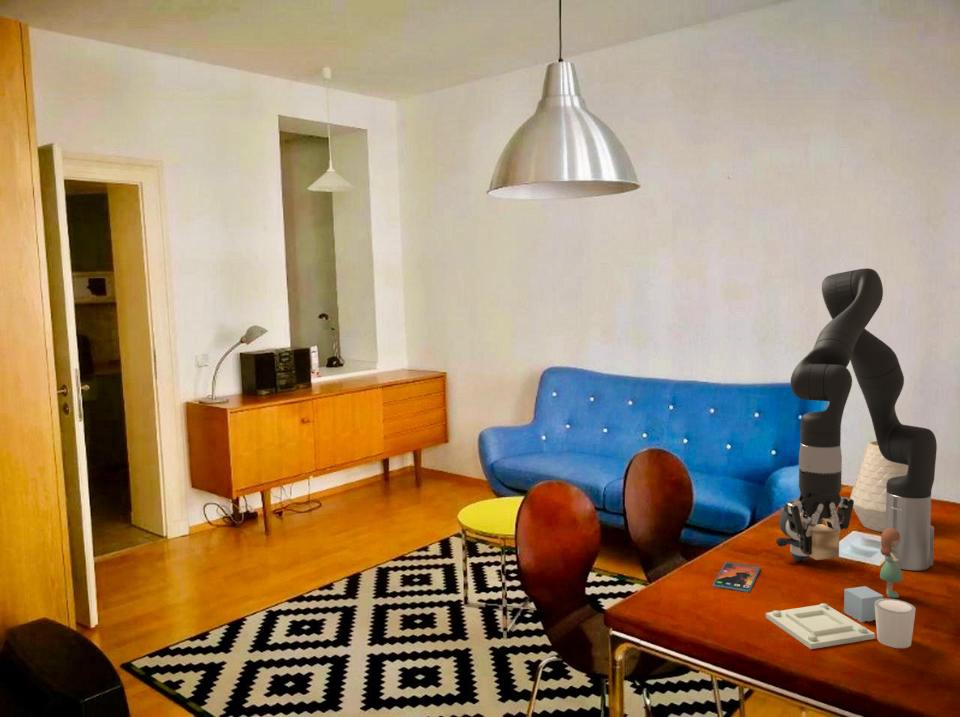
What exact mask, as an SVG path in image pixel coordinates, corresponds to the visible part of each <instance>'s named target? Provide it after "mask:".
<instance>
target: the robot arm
mask: <svg viewBox="0 0 960 717" xmlns="http://www.w3.org/2000/svg"><path fill="white" fill-rule="evenodd" d="M883 288H884V286H883V283H882V279H881V276H880V275H879V273H878V272H877V271H876V270H875V269H872V268H859V269H853V270H847V271H844V272H838V273H833V274H830V275H827V276H825V278H823V280H822V283H821V294H822V298H823V301H824V304H825V307H826V309H827V311H828V313H829V315H830V317H831V320H830V321H829V322H828V323H827V324H826V325H825V326H824V327H823V328H822V330H821V331H820V332H819V334H818V336H817V339H816V341H815V343H814V345H813V348H812V349H811V350H810V352H808V353H807V354H806V356H804V358H802V359H801V360H800V362H798V364H797V365H796V366H795V368H794V370H793V371H792V374H791V376H790V381H789V382H790V389H791V391H792V393H793V395H794V396H796V398H798V399H801V400H805V401H818V402H828V406H827V407H826V409H825V410H819V411H811V412H810V411H809V412H806V413H805V414H803V415H801V419H800V448H799V451H798V452H799V454H798V488H799V491H800V495H799V498H798V500H797V501H793V502H794V503H789V502H790V501H787V502H786V503H785V504H784V506H785V507H786V512H787V517H788V521H789V526H790V530H791V531H793V532H795V533H797V534H799V535H800V550H801V551H802V552H803V553H804V554H806V555H811V554H812V537H811V534H812V531H813V528H814V526H816V525H817V522H818V520H820V519H823V521H824V522H825V526H827V527H829V528H832V529H834V530H836V531H838V532H839V534H840V533H841V531H842V530H848V528H849V527H850V522H851V517H852V514H853V513H852V512H853V510H854V509H853V504H854V500H852V499H850V497H846V496H844V495H842V496H841V495H840V493H841V491H842V474H843V472H842V470H843V467H842V466H843V464H842V462H843V461H842V460H843V458H842V448H841V443H842V442H841V435H842V432H841V430H842V428H841V427H842V420H843V414H844V411H845V407H846V404H847V402H848V398H849V395H850V392H851V389H852V386H853V376H852V373H851V372H850V370H849V369H848V368H847V367H848V366H849V364H850V363H851V366H852V370H853V373H854V375H855V378H856V380H857V383H858V385H859V387H860V390H861V393H862V395H863V397H864V400H865V404H866V406H867V409H868V412H869V415H870V419H871V423H872V426H873V431H874V435H875V439H876V441H877V443H878V447H879V449H880V452H881V454H882V455H883V457H884V458H885V459H887V460H889V461H891V462H895V463H900V464H905V465H908V472H907V475H905V476H898V477H893V478H890V479H889V480H888V481H887V485H886V529H887V528H893V529H895V530H897V531H898V532H899V534H900V544H899V545H898V546H897V547H892V550H893V551H895V552H896V553H897V554H898V558H896V559H898V562H897V564H898V565H899V567H900V569H901V570H904V571H905V570H906V571H926V570H927V569H929V568H930V567H931V566H933V567H934V543H935V538H934V535H935V532H934V531H935V527H934V526H933V525H931V524H932V523H931V521H932V520H931V518H932V489H933V486H934V482H935V475H936V474H935V471H936V460H937V449H938V448H937V446H938V445H937V438H936V435H935V433H934V432H933V431H932V430H931V429H930V428H925V427H919V426H915V425H908V424H902V423H901V422H900V420H899V417H898V416H897V412H896V403H897V402H898V400H899V397H900V395H901V393H902V391H903V388H904V384H905V376H904V372H903V371H902V367H901V364H900V362H899V359H898V356H897V354H896V353H895V351H894V350H893V348H891V347H890V346H889V345H888V343H887V344H886V343H885V342H884V341H882V339H880V338H878V337H877V336H876V335H874V334H873V333H871V332H870V331H869V330H867V329H866V327H867V325H868V324H869V323H870V321H871V320H872V318H873V317H874V315H875V314H876V312H877V310H879V308H880V305H881V303H882V301H883V297H884V289H883ZM801 508H802V509H803V511H802V514H801V517H800V513H801ZM808 517H810V518H811V519H810V520H809V519H808ZM806 526H807V527H806ZM887 559H888V556H884V563H885V562H886V561H887Z"/></svg>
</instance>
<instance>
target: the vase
mask: <svg viewBox="0 0 960 717" xmlns="http://www.w3.org/2000/svg"><path fill="white" fill-rule="evenodd" d="M863 454H864V455H863V457H862V460H861V463H860V467H859V469H858V472H857V475H856V478H855V480H854V484H853V487H852V489H851V493H850V497H849V498H850V499H852V500H854V504H853V509H852V510H854V512H855V514H856V516H857V518H858V519H859V521H860V523H861V525H862V526H863V527H864V528H866V529H868V530H870V531H874V532H878V533H883V531H884V530H886V485H887V481H888V480H889V479H890V478H893V477H898V476H905V475H907V472H908V465H905V464H900V463H895V462H891V461H889V460H887V459H885V458H884V457H883V455H882V454H881V452H880V449H879V447H878V443H877V440H871V441H868V442H867V445H866V448H865V452H864V453H863Z"/></svg>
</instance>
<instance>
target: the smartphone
mask: <svg viewBox="0 0 960 717" xmlns="http://www.w3.org/2000/svg"><path fill="white" fill-rule="evenodd" d="M760 571H761V567H760V566H758V565H752V564H745V563H738V562H737V563H736V562H731V561H725V563H724V564H723V566H722V568H721V570H720V571H719V573H718V574H717V576H716V578H715V580H714V582H713V584H712V587H713V588H717V589H724V590H733V591H736V592H741V593H748V594H749V593H750V592H751V591H752V589H753V586H754V584H755V582H756V580H757V578H758V576H759V573H760Z"/></svg>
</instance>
